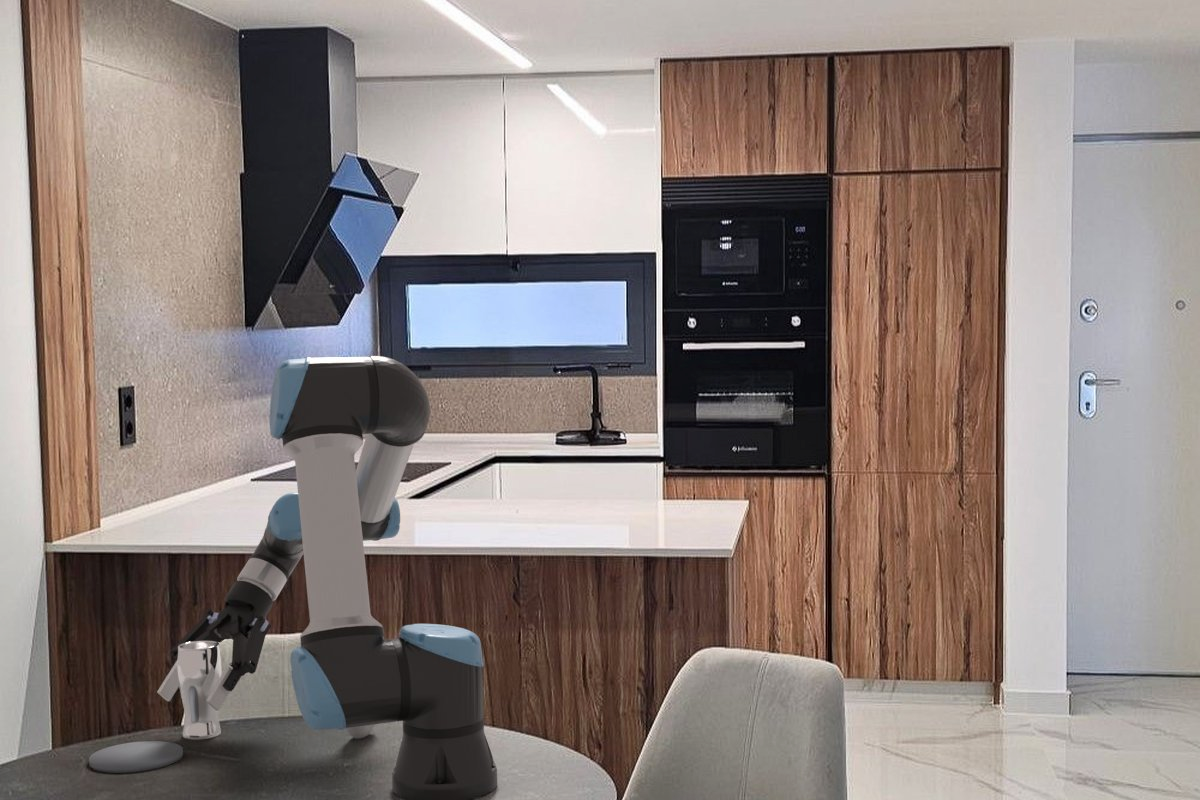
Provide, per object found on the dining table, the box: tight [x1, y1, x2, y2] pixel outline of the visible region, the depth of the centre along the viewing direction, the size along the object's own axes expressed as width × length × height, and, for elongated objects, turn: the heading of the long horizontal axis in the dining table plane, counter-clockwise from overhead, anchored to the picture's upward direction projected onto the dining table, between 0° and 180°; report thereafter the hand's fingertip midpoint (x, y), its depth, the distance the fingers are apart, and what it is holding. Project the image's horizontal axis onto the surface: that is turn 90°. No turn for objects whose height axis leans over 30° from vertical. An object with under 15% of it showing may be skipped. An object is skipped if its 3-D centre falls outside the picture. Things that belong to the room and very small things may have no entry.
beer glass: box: [177, 641, 222, 741], centre depth 241 cm, size 7×7×15 cm
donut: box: [345, 724, 376, 739], centre depth 237 cm, size 10×4×10 cm, turn 168°
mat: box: [88, 740, 184, 774], centre depth 228 cm, size 14×14×1 cm
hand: (187, 701), depth 238 cm, fingers open, 11 cm apart
